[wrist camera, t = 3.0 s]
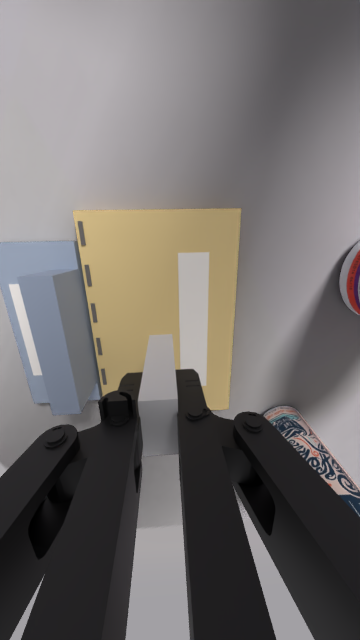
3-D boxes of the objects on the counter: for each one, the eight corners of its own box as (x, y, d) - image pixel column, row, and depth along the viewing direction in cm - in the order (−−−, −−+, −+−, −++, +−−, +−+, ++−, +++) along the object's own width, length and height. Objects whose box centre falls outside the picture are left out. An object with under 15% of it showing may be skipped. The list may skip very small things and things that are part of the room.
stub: (-2, 242, 17) (-70, 241, 12) (78, 241, 17) (44, 239, 12) (39, 396, 21) (3, 439, 16) (103, 392, 21) (85, 434, 17)
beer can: (289, 395, 23) (407, 539, 12) (305, 424, 25) (423, 577, 13) (249, 415, 24) (325, 572, 12) (266, 443, 25) (349, 605, 14)
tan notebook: (79, 213, 16) (72, 210, 15) (236, 210, 17) (241, 207, 16) (109, 407, 22) (105, 417, 21) (225, 401, 23) (228, 410, 22)
